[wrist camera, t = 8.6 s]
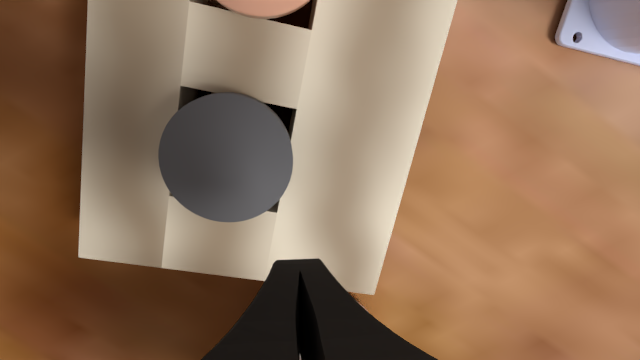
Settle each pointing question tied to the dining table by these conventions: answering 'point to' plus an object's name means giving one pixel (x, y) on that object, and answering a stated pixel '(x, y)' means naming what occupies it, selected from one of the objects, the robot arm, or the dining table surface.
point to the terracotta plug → (263, 7)
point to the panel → (269, 87)
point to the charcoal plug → (226, 157)
